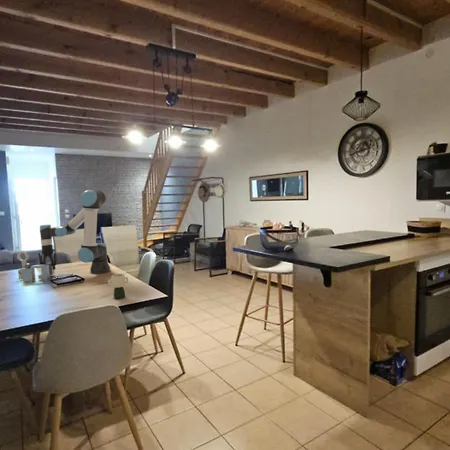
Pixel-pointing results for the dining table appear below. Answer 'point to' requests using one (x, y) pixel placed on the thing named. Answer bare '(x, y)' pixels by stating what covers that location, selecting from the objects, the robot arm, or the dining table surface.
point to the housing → (30, 272)
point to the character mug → (118, 285)
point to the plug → (49, 270)
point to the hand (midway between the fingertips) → (49, 274)
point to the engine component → (22, 262)
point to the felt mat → (63, 275)
